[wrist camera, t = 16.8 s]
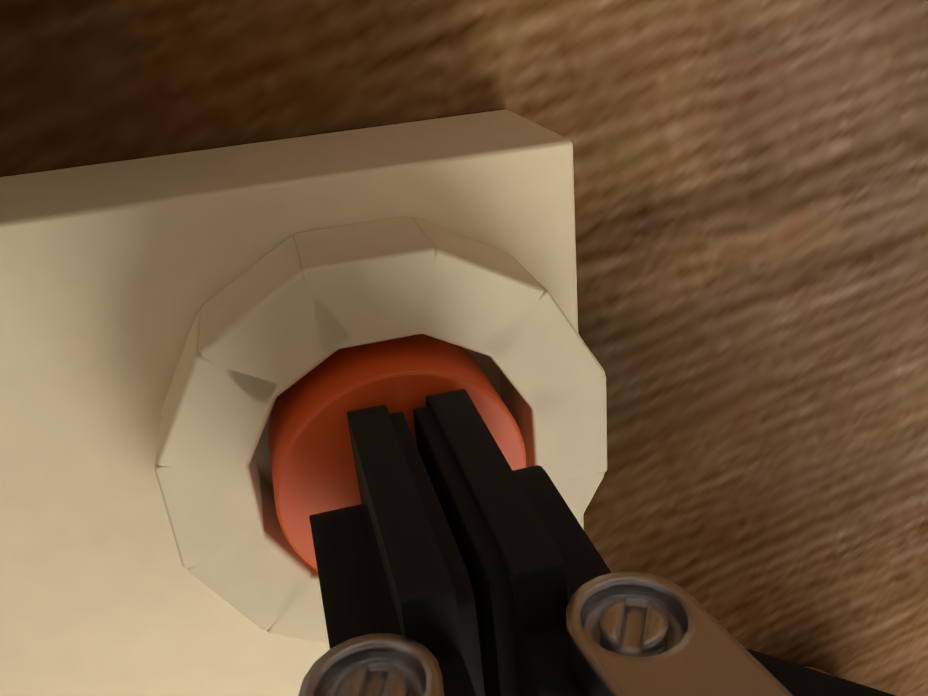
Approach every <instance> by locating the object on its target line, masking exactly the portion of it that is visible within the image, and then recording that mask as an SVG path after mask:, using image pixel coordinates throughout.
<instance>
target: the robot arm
mask: <svg viewBox="0 0 928 696" xmlns="http://www.w3.org/2000/svg"><path fill="white" fill-rule="evenodd" d="M413 416H414V425H415V433H416V440H417V446H416V443H415V441H414V438H413V436H412V433H411V431H410V428H409V426H408V424H407V421H406V419H405V416H404V414H403V412H397V413H392V414H389V412H388V409H387V407H386V405H380V406H375V407H370V408H365V409H360V410H355V411H350V412H347V420H348V426H349V432H350V438H351V444H352V450H353V456H354V462H355V468H356V474H357V480H358V486H359V492H360V498H361V504H359V505H355V506H350V507H346V508H341V509H337V510H332V511H327V512H323V513H318V514H314V515H309V518H310V525H311V531H312V538H313V544H314V550H315V557H316V563H317V570H318V576H319V582H320V589H321V595H322V602H323V608H324V615H325V621H326V627H327V634H328V640H329V647H330V649H329V650H328V651H327V652H326V653H325V654H324V655H322V656H321V657H320V658H319V659H318V660H316V661H315V662H314V664H313V665H312V666H311V668H310V669H309V671H308V672H307V674H306V675H305V677H304V678H303V681H302V685H301V688H300V692H299V695H298V696H895V695H892V694H889V693H886V692H883V691H879V690H876V689H873V688H870V687H867V686H864V685H860V684H857V683H854V682H851V681H848V680H845V679H842V678H838V677H835V676H832V675H829V674H826V673H823V672H819V671H816V670H813V669H810V668H807V667H804V666H800V665H797V664H794V663H791V662H788V661H785V660H781V659H778V658H775V657H772V656H769V655H766V654H763V653H759V652H756V651H753V650H750V649H747V648H744V647H743V646H742V645H741V644H740V643H739V642H738V641H737V640H736V639H735V638H734V637H733V636H732V635H731V634H730V633H729V632H728V631H727V630H726V629H725V628H724V627H723V626H722V625H721V624H720V623H719V622H718V621H717V620H716V619H715V618H714V617H713V616H712V615H711V614H710V613H709V612H708V611H707V610H706V609H705V608H704V607H703V606H702V605H701V604H700V603H699V602H698V601H697V600H696V599H695V598H694V597H693V596H692V595H690V594H689V593H688V592H687V591H685V590H684V589H683V588H681V587H680V586H679V585H677V584H676V583H674V582H672V581H670V580H667V579H665V578H662V577H660V576H658V575H654V574H648V573H643V572H637V571H629V572H614V573H611V572H610V570H609V569H608V567H607V565H606V564H605V562H604V561H603V559H602V558H601V556H600V555H599V553H598V552H597V550H596V548H595V547H594V545H593V544H592V542H591V541H590V539H589V538H588V536H587V534H586V533H585V531H584V530H583V528H582V527H581V525H580V524H579V522H578V521H577V519H576V517H575V516H574V514H573V513H572V511H571V510H570V508H569V507H568V505H567V503H566V502H565V500H564V499H563V497H562V496H561V494H560V493H559V491H558V490H557V488H556V486H555V485H554V483H553V482H552V480H551V479H550V477H549V476H548V474H547V472H546V471H545V470H544V469H543V468H542V466H539V465H536V466H531V467H526V468H522V469H517V470H512V469H511V467H510V465H509V464H508V462H507V460H506V458H505V457H504V455H503V453H502V451H501V450H500V448H499V446H498V445H497V443H496V441H495V439H494V438H493V436H492V434H491V432H490V431H489V429H488V427H487V426H486V424H485V422H484V420H483V419H482V417H481V415H480V414H479V412H478V410H477V408H476V407H475V405H474V403H473V401H472V400H471V398H470V396H469V395H468V393H467V391H466V390H465V389H460V390H455V391H450V392H445V393H440V394H435V395H430V396H426V407H422V408H417V409H414V411H413Z"/></svg>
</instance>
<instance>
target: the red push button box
mask: <svg viewBox="0 0 928 696" xmlns="http://www.w3.org/2000/svg"><path fill="white" fill-rule="evenodd" d="M418 334H424V335H427V336H430V337H434V338H437V339H440V340H443V341H446V342H449V343H452V344H455V345H458V346H461V347H462V348H464V349H465V350H466V351H467V352H468V353H469V354H470V355H471V356H472V357H473V358H474V359H475V360H476V362H477V363H478V365H479V366H480V368H481V369H482V370H483V372H484V373H485V375H486V376H487V378H488V380H489V381H490V383H491V384H492V386H493V387H494V389H495V390H496V392H497V393H498V395H499V396H500V398H501V399H502V401H503V402H504V404H505V405H506V407H507V408H508V410H509V411H510V413H511V415H512V416H513V418H514V419H515V421H516V423H517V425H518V427H519V429H520V432H521V435H522V438H523V442H524V445H525V452H526V467H531V466H536V465H539V466H542V468H543V469H544V470H545V471H546V472H547V474H548V476H549V477H550V479H551V480H552V482H553V483H554V485H555V486H556V488H557V490H558V491H559V493H560V494H561V496H562V497H563V499H564V500H565V502H566V503H567V505H568V507H569V508H570V510H571V511H572V513H573V514H574V516H575V517H576V519H577V521H578V522H579V524H580V525H581V527H582V528H583V530H584V515H583V514H584V512H585V510H586V508H587V506H588V505H589V503H590V501H591V499H592V497H593V495H594V494H595V492H596V490H597V488H598V486H599V484H600V483H601V481H602V479H603V477H604V474H605V472H606V471H607V413H606V375H605V372H604V369H603V368H602V367H601V365H600V364H599V362H598V361H597V360H596V358H595V357H594V355H593V354H592V352H591V351H590V350H589V348H588V347H587V345H586V344H585V343H584V341H583V340H582V338H581V337H580V336H579V334H578V310H577V276H576V242H575V208H574V174H573V144H572V142H571V140H569V139H567V138H565V137H563V136H561V135H559V134H557V133H555V132H553V131H550V130H548V129H546V128H544V127H542V126H540V125H538V124H536V123H534V122H532V121H530V120H528V119H526V118H524V117H521V116H519V115H517V114H515V113H513V112H511V111H509V110H506V109H504V110H497V111H489V112H482V113H474V114H467V115H459V116H452V117H445V118H437V119H430V120H422V121H415V122H407V123H400V124H393V125H385V126H378V127H370V128H363V129H355V130H348V131H341V132H333V133H326V134H318V135H311V136H303V137H296V138H289V139H281V140H274V141H266V142H259V143H251V144H244V145H237V146H229V147H222V148H214V149H207V150H199V151H192V152H185V153H177V154H170V155H162V156H155V157H147V158H140V159H132V160H125V161H118V162H110V163H103V164H95V165H88V166H80V167H73V168H66V169H58V170H51V171H43V172H36V173H28V174H21V175H14V176H6V177H0V696H298V695H299V692H300V688H301V685H302V681H303V678H304V677H305V675H306V674H307V672H308V671H309V669H310V668H311V666H312V665H313V664H314V662H315V661H316V660H318V659H319V658H320V657H321V656H322V655H324V654H325V653H326V652H327V651H328V650H329V649H330V647H329V640H328V634H327V627H326V621H325V615H324V608H323V602H322V595H321V589H320V582H319V576H318V571H317V570H315V569H314V568H313V567H311V566H310V565H309V564H307V563H306V562H305V561H304V560H303V559H302V558H301V557H300V556H299V555H298V554H297V553H296V552H295V551H294V549H293V548H292V546H291V545H290V543H289V542H288V541H287V539H286V537H285V535H284V533H283V531H282V529H281V527H280V523H279V520H278V517H277V514H276V506H275V499H274V489H273V480H272V470H271V460H270V451H269V441H268V440H269V423H270V417H271V412H272V409H273V406H274V403H275V400H276V398H277V397H278V396H279V395H280V394H281V393H283V392H284V391H285V390H287V389H288V388H289V387H290V386H292V385H293V384H294V383H296V382H297V381H298V380H299V379H301V378H302V377H303V376H305V375H306V374H307V373H308V372H310V371H311V370H312V369H314V368H315V367H316V366H318V365H319V364H320V363H321V362H323V361H324V360H325V359H327V358H328V357H329V356H330V355H332V354H333V353H334V352H336V351H337V350H338V349H342V348H348V347H353V346H358V345H364V344H369V343H375V342H380V341H385V340H391V339H396V338H402V337H407V336H412V335H418Z"/></svg>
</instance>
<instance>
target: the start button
mask: <svg viewBox="0 0 928 696" xmlns="http://www.w3.org/2000/svg"><path fill="white" fill-rule="evenodd" d="M460 389H465V390H466V391H467V393H468V395H469V396H470V398H471V400H472V401H473V403H474V405H475V407H476V408H477V410H478V412H479V414H480V415H481V417H482V419H483V420H484V422H485V424H486V426H487V427H488V429H489V431H490V432H491V434H492V436H493V438H494V439H495V441H496V443H497V445H498V446H499V448H500V450H501V451H502V453H503V455H504V457H505V458H506V460H507V462H508V464H509V465H510V467H511V469H512V470H517V469H522V468H526V452H525V445H524V442H523V438H522V435H521V432H520V429H519V427H518V425H517V423H516V421H515V419H514V418H513V416H512V415H511V413H510V411H509V410H508V408H507V407H506V405H505V404H504V402H503V401H502V399H501V398H500V396H499V395H498V393H497V392H496V390H495V389H494V387H493V386H492V384H491V383H490V381H489V380H488V378H487V376H486V375H485V373H484V372H483V370H482V369H481V368H480V366H479V365H478V363H477V362H476V360H475V359H474V358H473V357H472V356H471V355H470V354H469V353H468V352H467V351H466V350H465V349H464V348H462V347H461V346H458V345H455V344H452V343H449V342H446V341H443V340H440V339H437V338H434V337H430V336H427V335H424V334H418V335H412V336H407V337H402V338H396V339H391V340H385V341H380V342H375V343H369V344H364V345H358V346H353V347H348V348H342V349H338V350H337V351H336V352H334V353H333V354H332V355H330V356H329V357H328V358H327V359H325V360H324V361H323V362H321V363H320V364H319V365H318V366H316V367H315V368H314V369H312V370H311V371H310V372H308V373H307V374H306V375H305V376H303V377H302V378H301V379H299V380H298V381H297V382H296V383H294V384H293V385H292V386H290V387H289V388H288V389H287V390H285V391H284V392H283V393H281V394H280V395H279V396H278V397H277V398H276V400H275V403H274V406H273V409H272V412H271V417H270V423H269V440H268V441H269V451H270V460H271V470H272V480H273V489H274V499H275V506H276V514H277V517H278V520H279V523H280V527H281V529H282V531H283V533H284V535H285V537H286V539H287V541H288V542H289V543H290V545H291V546H292V548H293V549H294V551H295V552H296V553H297V554H298V555H299V556H300V557H301V558H302V559H303V560H304V561H305V562H306V563H307V564H309V565H310V566H311V567H313V568H314V569H315V570H317V563H316V557H315V550H314V544H313V538H312V531H311V525H310V518H309V515H314V514H318V513H323V512H327V511H332V510H337V509H341V508H346V507H350V506H355V505H359V504H361V498H360V492H359V486H358V480H357V474H356V468H355V462H354V456H353V450H352V444H351V438H350V432H349V426H348V420H347V412H350V411H355V410H360V409H365V408H370V407H375V406H380V405H386V407H387V409H388V412H389V414H392V413H397V412H403V414H404V416H405V419H406V421H407V424H408V426H409V428H410V431H411V433H412V436H413V438H414V441H415V443H416V446H417V440H416V433H415V425H414V416H413V411H414V409H417V408H422V407H426V396H430V395H435V394H440V393H445V392H450V391H455V390H460ZM317 571H318V570H317Z"/></svg>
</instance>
